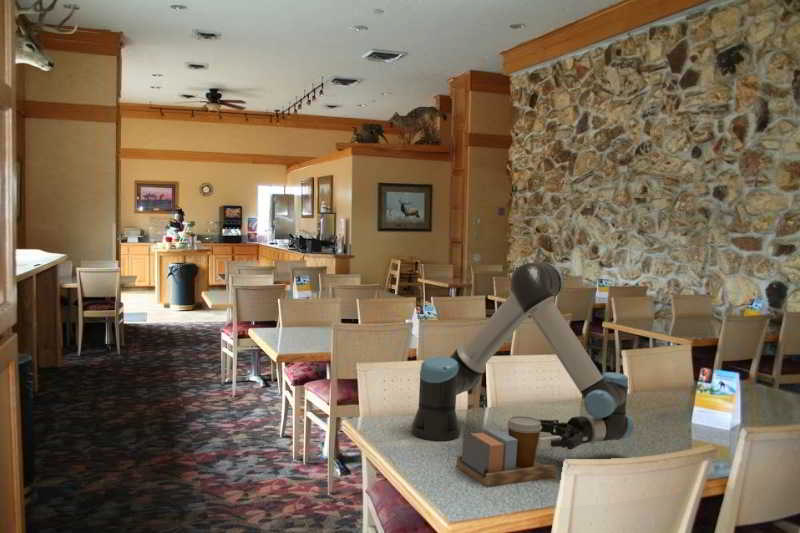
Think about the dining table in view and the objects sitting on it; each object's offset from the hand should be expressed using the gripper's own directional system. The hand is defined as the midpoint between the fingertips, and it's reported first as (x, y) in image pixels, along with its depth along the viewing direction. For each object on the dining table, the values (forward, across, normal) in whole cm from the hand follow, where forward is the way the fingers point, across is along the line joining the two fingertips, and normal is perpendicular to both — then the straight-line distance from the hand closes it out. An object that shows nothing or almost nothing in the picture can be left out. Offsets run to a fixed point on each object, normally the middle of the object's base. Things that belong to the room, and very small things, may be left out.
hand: (524, 435), depth 182 cm
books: (+10, 0, -8) cm, 13 cm away
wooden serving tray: (+5, 0, -9) cm, 11 cm away
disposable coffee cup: (0, 0, -8) cm, 8 cm away
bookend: (+15, 0, -8) cm, 17 cm away
